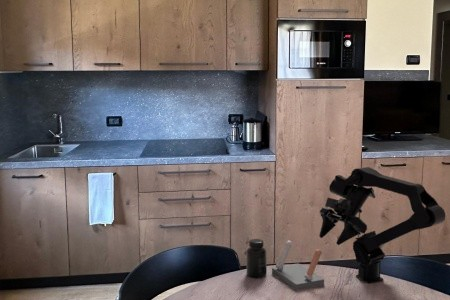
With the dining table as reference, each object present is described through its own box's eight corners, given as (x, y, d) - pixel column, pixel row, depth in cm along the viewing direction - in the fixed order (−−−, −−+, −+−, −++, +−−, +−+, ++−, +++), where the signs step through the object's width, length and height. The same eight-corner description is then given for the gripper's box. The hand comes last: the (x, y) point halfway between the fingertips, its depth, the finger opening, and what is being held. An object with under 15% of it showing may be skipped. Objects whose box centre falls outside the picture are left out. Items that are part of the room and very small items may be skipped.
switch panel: (298, 268, 162) (298, 263, 162) (324, 285, 148) (324, 279, 148) (272, 273, 158) (272, 267, 158) (296, 290, 144) (296, 284, 144)
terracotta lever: (308, 278, 149) (319, 249, 149) (312, 281, 146) (324, 251, 147) (302, 277, 148) (314, 247, 148) (307, 279, 146) (319, 249, 146)
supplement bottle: (265, 271, 160) (265, 237, 159) (267, 278, 154) (268, 243, 152) (245, 271, 160) (245, 237, 159) (247, 278, 153) (247, 244, 152)
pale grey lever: (279, 268, 158) (290, 240, 158) (283, 271, 155) (294, 242, 156) (274, 266, 157) (285, 239, 157) (277, 269, 155) (289, 240, 155)
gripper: (322, 184, 159) (297, 220, 156) (358, 192, 142) (330, 233, 139) (342, 202, 163) (317, 238, 160) (379, 212, 146) (352, 253, 143)
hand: (328, 240), depth 151 cm, fingers open, 9 cm apart
